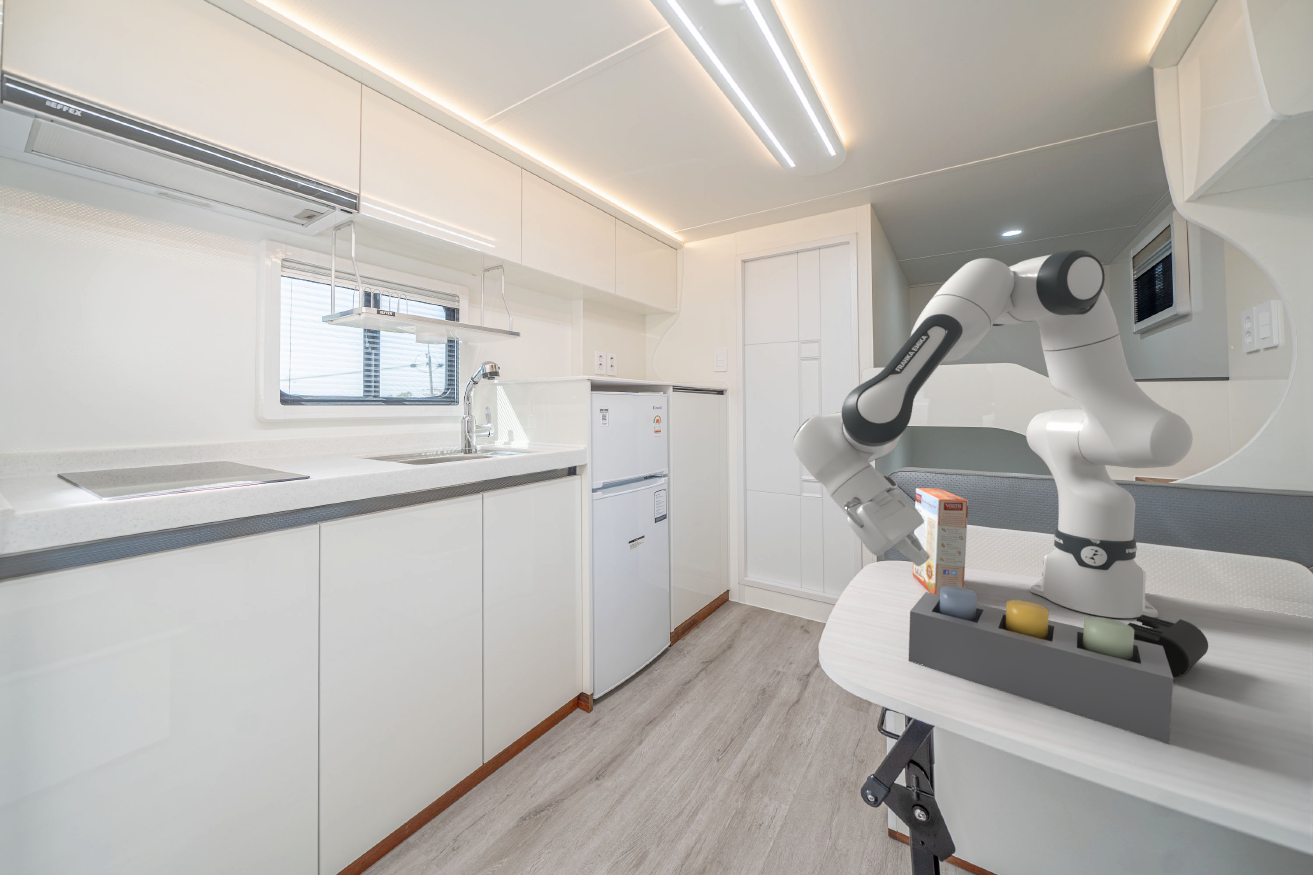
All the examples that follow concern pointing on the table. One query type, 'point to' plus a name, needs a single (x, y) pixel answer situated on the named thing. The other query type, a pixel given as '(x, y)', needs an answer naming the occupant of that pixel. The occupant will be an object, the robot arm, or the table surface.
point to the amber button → (1027, 618)
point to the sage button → (1108, 637)
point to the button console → (1047, 667)
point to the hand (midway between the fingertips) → (924, 562)
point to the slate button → (958, 602)
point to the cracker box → (941, 538)
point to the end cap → (1173, 641)
